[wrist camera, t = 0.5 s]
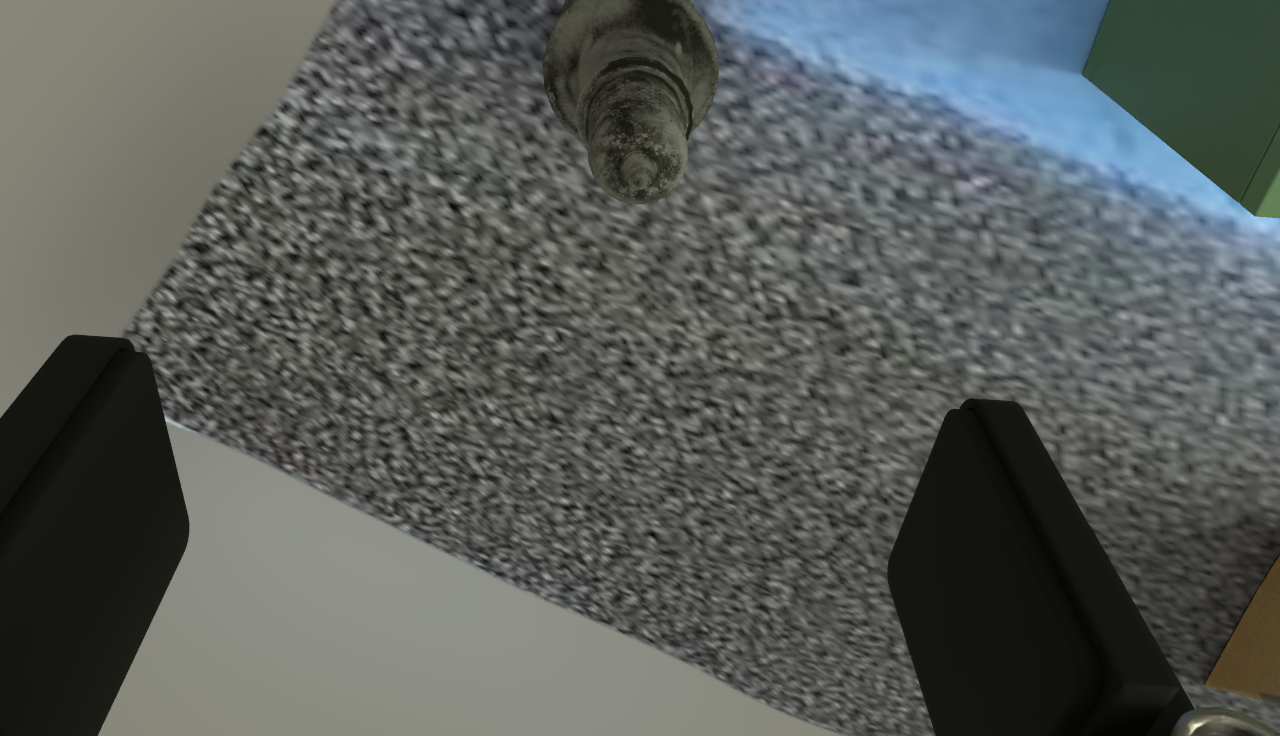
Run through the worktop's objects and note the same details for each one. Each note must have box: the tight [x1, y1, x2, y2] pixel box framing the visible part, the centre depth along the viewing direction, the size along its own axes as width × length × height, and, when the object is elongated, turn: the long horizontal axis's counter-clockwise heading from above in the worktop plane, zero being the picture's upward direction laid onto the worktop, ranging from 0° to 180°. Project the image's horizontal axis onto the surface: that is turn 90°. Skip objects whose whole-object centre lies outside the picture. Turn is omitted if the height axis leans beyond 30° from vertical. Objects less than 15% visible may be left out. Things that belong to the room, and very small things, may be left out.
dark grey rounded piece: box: [543, 0, 719, 204], centre depth 29 cm, size 6×6×12 cm
